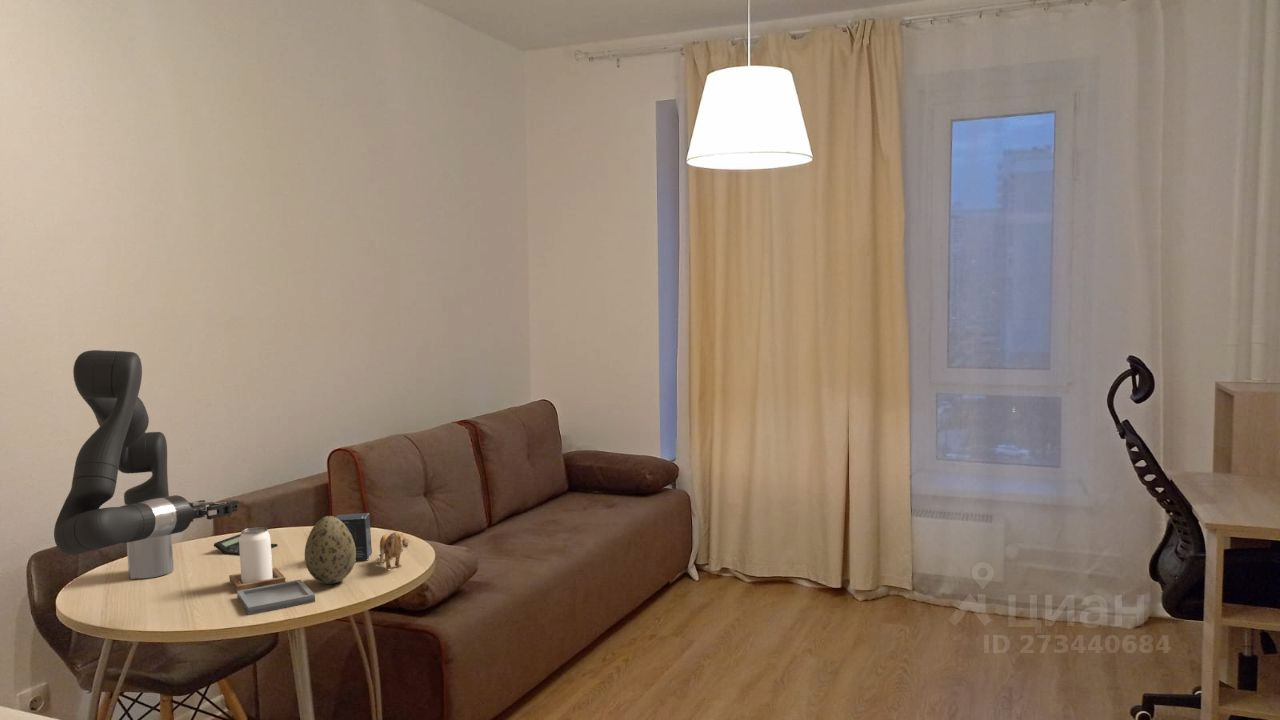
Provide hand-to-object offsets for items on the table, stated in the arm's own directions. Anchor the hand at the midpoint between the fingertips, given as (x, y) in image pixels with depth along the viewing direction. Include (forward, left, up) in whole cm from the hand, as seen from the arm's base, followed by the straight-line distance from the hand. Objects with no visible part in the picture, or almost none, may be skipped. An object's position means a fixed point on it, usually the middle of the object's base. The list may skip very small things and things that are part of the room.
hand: (220, 505), depth 196 cm
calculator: (+10, +38, -20) cm, 44 cm away
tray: (+8, -9, -20) cm, 23 cm away
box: (+30, +12, -20) cm, 38 cm away
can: (+7, +6, -20) cm, 22 cm away
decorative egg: (+21, -5, -20) cm, 29 cm away
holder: (+7, +6, -20) cm, 22 cm away
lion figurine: (+36, 0, -20) cm, 42 cm away
